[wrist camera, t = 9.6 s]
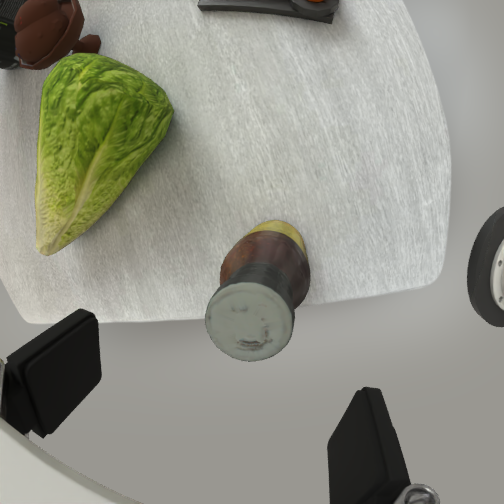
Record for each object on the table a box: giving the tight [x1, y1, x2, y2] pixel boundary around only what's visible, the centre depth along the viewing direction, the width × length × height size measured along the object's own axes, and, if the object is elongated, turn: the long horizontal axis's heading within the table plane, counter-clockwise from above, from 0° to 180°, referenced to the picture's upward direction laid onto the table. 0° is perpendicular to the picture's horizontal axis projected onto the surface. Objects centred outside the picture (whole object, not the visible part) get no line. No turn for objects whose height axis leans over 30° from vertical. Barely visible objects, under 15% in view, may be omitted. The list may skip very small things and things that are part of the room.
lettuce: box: [35, 53, 174, 256], centre depth 27 cm, size 14×24×15 cm
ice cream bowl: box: [14, 0, 101, 70], centre depth 22 cm, size 11×11×15 cm
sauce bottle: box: [205, 220, 310, 362], centre depth 22 cm, size 7×6×20 cm
